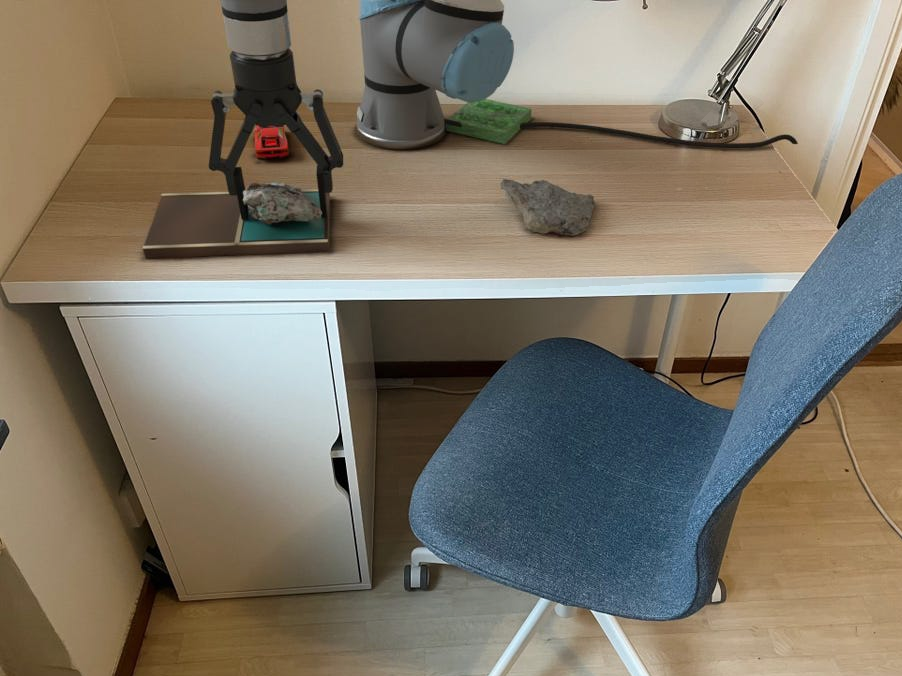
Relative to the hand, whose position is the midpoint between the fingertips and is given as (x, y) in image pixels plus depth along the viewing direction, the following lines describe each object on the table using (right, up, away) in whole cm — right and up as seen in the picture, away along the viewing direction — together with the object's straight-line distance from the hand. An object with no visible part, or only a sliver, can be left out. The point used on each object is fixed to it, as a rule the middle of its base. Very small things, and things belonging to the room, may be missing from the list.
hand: (285, 213), depth 109 cm
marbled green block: (+29, +23, +30) cm, 47 cm away
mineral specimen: (0, 0, 0) cm, 0 cm away
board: (-6, -2, +1) cm, 6 cm away
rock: (+37, +2, +7) cm, 38 cm away
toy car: (-7, +16, +20) cm, 26 cm away
